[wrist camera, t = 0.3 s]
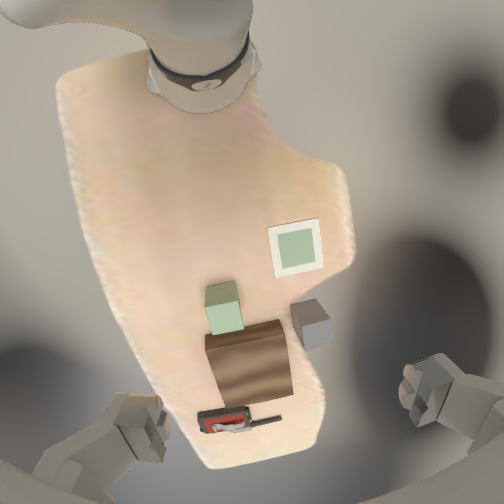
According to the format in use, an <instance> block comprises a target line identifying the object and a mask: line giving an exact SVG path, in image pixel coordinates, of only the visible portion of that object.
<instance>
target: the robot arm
mask: <svg viewBox="0 0 504 504" xmlns="http://www.w3.org/2000/svg"><path fill="white" fill-rule="evenodd" d="M0 13H1V14H2V15H3V16H4V17H5V18H6V19H8V20H9V21H10V22H12V23H14V24H16V25H19V26H21V27H25V28H29V29H37V28H42V27H46V26H51V25H56V24H63V23H96V24H103V25H109V26H113V27H117V28H120V29H124V30H127V31H130V32H133V33H135V34H138V35H139V36H141V37H142V38H143V39H144V40H145V41H146V42H147V46H148V47H150V54H148V55H147V61H148V62H149V64H148V73H147V84H146V86H147V89H148V90H149V91H150V92H151V93H154V94H157V95H161V96H163V97H165V98H166V99H167V100H168V101H169V102H170V103H171V104H173V105H174V106H175V107H177V108H179V109H181V110H183V111H186V112H190V113H211V112H215V111H218V110H221V109H223V108H225V107H227V106H228V105H230V104H231V103H233V102H234V101H235V100H236V99H237V98H238V97H239V96H240V95H241V93H242V92H243V90H244V88H245V86H246V84H247V82H248V81H249V79H250V78H252V77H253V76H254V75H256V74H257V73H258V72H259V71H260V69H261V63H260V61H259V58H258V56H257V54H256V52H255V50H254V48H253V46H252V44H251V42H250V39H249V30H248V29H249V26H250V22H251V18H252V13H253V4H252V0H0ZM403 375H404V377H405V379H404V380H403V381H402V382H401V384H400V388H399V398H400V401H401V404H402V405H403V407H404V408H406V409H409V410H410V417H411V419H412V420H413V422H414V423H415V425H416V426H417V427H420V426H422V425H425V424H427V423H430V422H432V421H435V420H437V421H438V422H440V423H442V424H443V425H445V426H447V427H449V428H451V429H453V430H455V431H457V432H459V433H461V434H463V435H465V436H467V437H469V438H471V439H473V440H474V441H473V442H472V444H471V445H470V447H469V449H468V451H467V453H468V456H466V457H464V458H463V459H461V460H460V461H458V462H456V463H454V464H452V465H450V466H449V467H447V468H445V469H443V470H441V471H439V472H437V473H435V474H433V475H431V476H429V477H427V478H425V479H423V480H420V481H419V482H416V483H414V484H412V485H409V486H407V487H404V488H402V489H399V490H397V491H394V492H391V493H389V494H386V495H383V496H380V497H377V498H374V499H371V500H368V501H365V502H361V503H358V504H504V383H501V382H497V381H493V380H489V379H486V378H481V377H478V376H475V375H471V374H468V375H465V374H464V373H463V372H462V371H461V370H460V369H459V368H458V367H457V366H456V365H455V364H454V363H453V362H452V361H451V360H450V359H448V358H447V357H446V356H445V355H444V354H442V353H439V354H436V355H434V356H431V357H429V358H426V359H423V360H420V361H417V362H413V363H410V364H407V365H406V367H405V368H404V372H403ZM162 407H163V402H162V399H161V397H160V396H158V395H146V394H134V393H122V392H117V393H115V394H114V396H113V398H112V400H111V402H110V404H109V405H108V407H107V409H106V411H105V413H104V415H103V417H102V418H101V421H100V422H99V423H93V424H92V425H90V426H88V427H87V428H85V429H83V430H81V431H80V432H78V433H76V434H74V435H73V436H71V437H69V438H67V439H65V440H64V441H62V442H60V443H58V444H56V445H54V446H52V447H51V448H49V449H47V450H45V452H44V454H43V455H42V457H41V459H40V460H39V462H38V464H37V465H36V467H35V469H34V471H33V473H32V474H31V475H28V474H26V473H25V472H23V471H21V470H19V469H17V468H15V467H14V466H12V465H10V464H8V463H6V462H5V461H3V460H2V459H0V504H116V503H115V501H114V500H113V499H112V498H111V497H110V496H109V495H108V494H107V493H106V491H107V490H108V489H109V488H110V487H112V486H113V485H114V484H115V483H116V482H117V481H118V480H119V479H120V478H122V477H123V476H124V475H125V474H126V473H127V472H128V471H129V470H130V469H131V468H132V467H134V466H135V465H136V464H137V463H138V462H139V461H147V462H158V463H163V459H164V454H165V451H166V447H165V445H164V442H165V441H166V440H167V439H169V434H170V422H169V417H168V415H167V413H166V412H165V411H163V410H162Z"/></svg>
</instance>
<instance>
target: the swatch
mask: <svg viewBox="0 0 504 504" xmlns="http://www.w3.org/2000/svg"><path fill="white" fill-rule="evenodd" d="M267 233H268V239H269V245H270V251H271V257H272V263H273V269H274V275H275V278H279V277H283V276H288V275H292V274H297V273H301V272H306V271H310V270H314V269H318V268H323V267H324V265H323V255H322V246H321V237H320V228H319V220H318V218H315V219H309V220H304V221H299V222H294V223H289V224H283V225H278V226H273V227H268V228H267Z"/></svg>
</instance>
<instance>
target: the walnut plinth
mask: <svg viewBox="0 0 504 504" xmlns="http://www.w3.org/2000/svg"><path fill="white" fill-rule="evenodd" d="M205 351H206V354H207V357H208V360H209V363H210V366H211V369H212V371H213V374H214V377H215V380H216V383H217V385H218V388H219V391H220V393H221V396H222V399H223V401H224V404H225V407H226V409H227V408H233V407H239V406H244V405H250V404H255V403H260V402H264V401H269V400H273V399H278V398H282V397H286V396H290V395H294V394H293V387H292V380H291V372H290V365H289V359H288V352H287V345H286V338H285V333H284V330H283V328H282V326H281V323H280V321H279V319H278V320H274V321H270V322H265V323H261V324H256V325H252V326H247V327H244V329H242V330H237V331H232V332H227V333H222V334H217V335H212V334H206V339H205Z"/></svg>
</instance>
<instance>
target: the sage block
mask: <svg viewBox="0 0 504 504" xmlns="http://www.w3.org/2000/svg"><path fill="white" fill-rule="evenodd" d="M205 311H206V314H207V318H208V321H209V325H210V328H211V331H212V335H217V334H222V333H227V332H232V331H237V330H242V329H244V325H243V319H242V314H241V308H240V303H239V299H238V295H237V290H236V286H235V281H231V282H226V283H221V284H217V285H212V286H207V287H206V295H205Z"/></svg>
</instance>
